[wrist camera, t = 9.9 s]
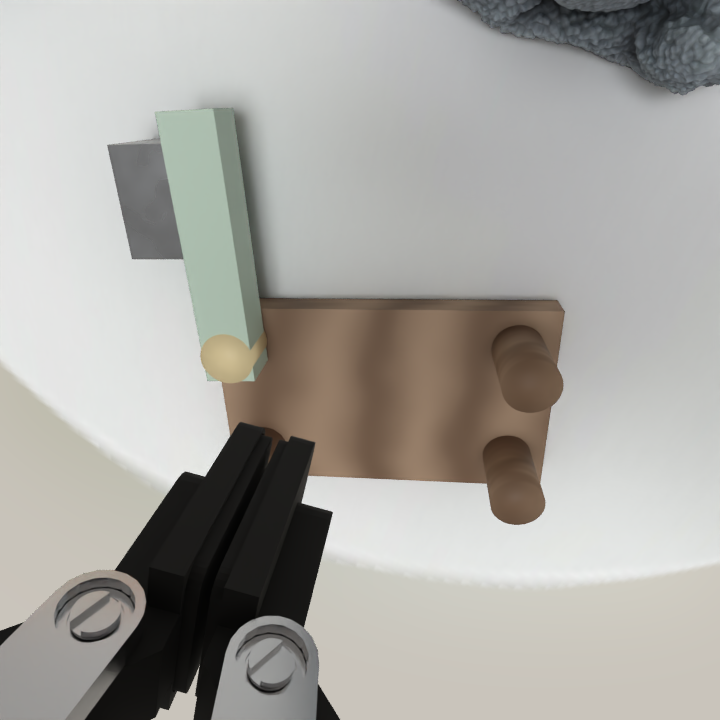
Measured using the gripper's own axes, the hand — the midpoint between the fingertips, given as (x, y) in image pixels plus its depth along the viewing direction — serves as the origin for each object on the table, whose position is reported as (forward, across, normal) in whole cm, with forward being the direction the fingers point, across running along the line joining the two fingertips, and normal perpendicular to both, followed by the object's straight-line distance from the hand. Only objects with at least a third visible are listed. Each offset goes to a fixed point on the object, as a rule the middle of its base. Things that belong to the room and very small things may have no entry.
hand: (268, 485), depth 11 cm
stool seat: (+24, -3, +10) cm, 26 cm away
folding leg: (+22, +8, +2) cm, 23 cm away
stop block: (+24, +12, 0) cm, 27 cm away
